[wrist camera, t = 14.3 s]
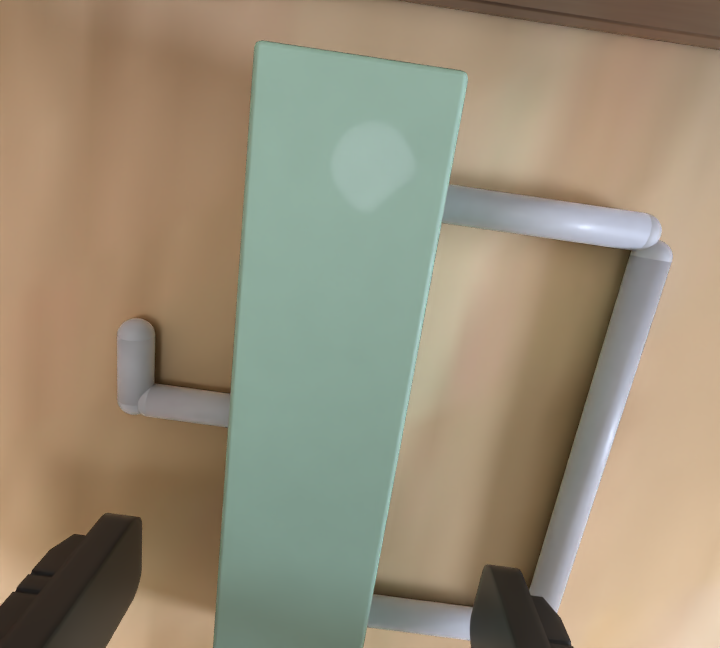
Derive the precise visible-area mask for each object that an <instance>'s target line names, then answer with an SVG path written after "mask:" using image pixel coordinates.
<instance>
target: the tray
mask: <svg viewBox="0 0 720 648" xmlns="http://www.w3.org/2000/svg"><path fill="white" fill-rule="evenodd" d="M400 1H407V2H413V3H419V4H426V5H432V6H439V7H445V8H452V9H458V10H465V11H471V12H478V13H484V14H491V15H497V16H504V17H510V18H517V19H523V20H530V21H536V22H543V23H549V24H556V25H562V26H569V27H575V28H582V29H588V30H595V31H601V32H608V33H614V34H621V35H627V36H634V37H640V38H647V39H653V40H660V41H666V42H673V43H679V44H686V45H692V46H699V47H705V48H712V49H718V50H720V0H400Z"/></svg>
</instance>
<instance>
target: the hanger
mask: <svg viewBox="0 0 720 648" xmlns="http://www.w3.org/2000/svg"><path fill="white" fill-rule="evenodd" d="M467 83H468V77H467V73H465V72H464V71H461V70H455V69H448V68H441V67H435V66H428V65H421V64H415V63H408V62H402V61H395V60H388V59H382V58H375V57H369V56H362V55H355V54H349V53H342V52H335V51H329V50H322V49H316V48H309V47H302V46H296V45H289V44H282V43H276V42H269V41H263V40H262V41H259V42H256V45H255V47H254V57H253V71H252V86H251V100H250V115H249V130H248V144H247V159H246V173H245V188H244V203H243V217H242V232H241V246H240V261H239V276H238V290H237V305H236V319H235V334H234V349H233V363H232V378H231V393H230V394H228V393H221V392H214V391H206V390H199V389H192V388H184V387H177V386H170V385H162V384H154V373H155V331H154V328H153V326H152V325H151V324H150V323H149V322H148V321H146V320H144V319H141V318H132V319H129V320H127V321H125V322H123V323H122V324H121V326H120V327H119V329H118V332H117V400H118V405H119V407H120V408H121V409H122V410H123V411H124V412H126V413H128V414H131V415H137V414H142V415H144V416H147V417H153V418H161V419H168V420H176V421H183V422H190V423H198V424H205V425H213V426H220V427H227V428H228V436H227V451H226V466H225V480H224V495H223V509H222V524H221V539H220V553H219V568H218V582H217V597H216V612H215V626H214V641H213V648H363V646H364V640H365V635H366V630H367V627H369V628H376V629H384V630H392V631H400V632H408V633H416V634H423V635H431V636H439V637H447V638H455V639H462V640H470V618H471V613H472V609H473V607H469V606H461V605H454V604H446V603H438V602H430V601H423V600H415V599H407V598H399V597H392V596H384V595H376V594H373V592H374V586H375V581H376V576H377V570H378V565H379V559H380V554H381V548H382V543H383V538H384V532H385V527H386V521H387V516H388V511H389V505H390V500H391V494H392V489H393V484H394V478H395V473H396V467H397V462H398V456H399V451H400V446H401V440H402V435H403V429H404V424H405V419H406V413H407V408H408V402H409V397H410V392H411V386H412V381H413V375H414V370H415V364H416V359H417V354H418V348H419V343H420V337H421V332H422V327H423V321H424V316H425V310H426V305H427V300H428V294H429V289H430V283H431V278H432V272H433V267H434V262H435V256H436V251H437V245H438V240H439V235H440V229H441V224H442V223H446V224H453V225H460V226H467V227H474V228H481V229H488V230H494V231H501V232H508V233H515V234H522V235H529V236H536V237H543V238H550V239H557V240H564V241H570V242H577V243H584V244H591V245H598V246H605V247H612V248H619V249H626V250H632V251H631V253H630V256H629V259H628V263H627V266H626V269H625V273H624V276H623V279H622V283H621V286H620V289H619V293H618V296H617V299H616V303H615V306H614V309H613V313H612V316H611V319H610V323H609V326H608V329H607V333H606V336H605V339H604V343H603V346H602V349H601V353H600V356H599V359H598V363H597V366H596V369H595V373H594V376H593V379H592V383H591V386H590V389H589V393H588V396H587V399H586V403H585V406H584V409H583V413H582V416H581V419H580V423H579V426H578V429H577V433H576V436H575V439H574V443H573V446H572V449H571V453H570V456H569V459H568V463H567V466H566V469H565V473H564V476H563V479H562V483H561V486H560V489H559V493H558V496H557V499H556V503H555V506H554V509H553V513H552V516H551V519H550V523H549V526H548V529H547V533H546V536H545V539H544V543H543V546H542V549H541V553H540V556H539V559H538V563H537V566H536V569H535V573H534V576H533V579H532V583H531V586H530V589H529V592H530V595H532V596H540V597H543V598H544V599H545V600H546V601H547V602H548V604H549V605H550V606H551V607H552V608H553V610H554V611H555V612H556V613H557V612H558V609H559V606H560V603H561V600H562V597H563V594H564V591H565V588H566V584H567V581H568V578H569V575H570V572H571V569H572V566H573V563H574V560H575V557H576V554H577V551H578V548H579V545H580V542H581V539H582V535H583V532H584V529H585V526H586V523H587V520H588V517H589V514H590V511H591V508H592V505H593V502H594V499H595V496H596V493H597V489H598V486H599V483H600V480H601V477H602V474H603V471H604V468H605V465H606V462H607V459H608V456H609V453H610V450H611V447H612V444H613V440H614V437H615V434H616V431H617V428H618V425H619V422H620V419H621V416H622V413H623V410H624V407H625V404H626V401H627V398H628V395H629V391H630V388H631V385H632V382H633V379H634V376H635V373H636V370H637V367H638V364H639V361H640V358H641V355H642V352H643V349H644V345H645V342H646V339H647V336H648V333H649V330H650V327H651V324H652V321H653V318H654V315H655V312H656V309H657V306H658V303H659V300H660V296H661V293H662V290H663V287H664V284H665V281H666V278H667V275H668V272H669V269H670V266H671V263H672V259H673V254H672V250H671V249H670V247H669V246H668V245H667V244H666V243H665V242H663V241H661V240H659V239H660V236H661V232H662V228H661V224H660V222H659V221H658V219H657V218H656V217H654V216H653V215H651V214H647V213H642V212H635V211H628V210H622V209H615V208H608V207H601V206H594V205H587V204H581V203H574V202H567V201H560V200H553V199H546V198H540V197H533V196H526V195H519V194H512V193H505V192H499V191H492V190H485V189H478V188H471V187H464V186H458V185H451V184H449V181H450V175H451V170H452V164H453V159H454V153H455V148H456V143H457V137H458V132H459V126H460V121H461V116H462V110H463V105H464V99H465V94H466V89H467Z"/></svg>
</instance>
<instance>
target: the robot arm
mask: <svg viewBox="0 0 720 648" xmlns="http://www.w3.org/2000/svg"><path fill="white" fill-rule="evenodd" d="M141 569H142V521H141V518H139V517H134V516H126V515H118V514H111V513H106V514H104V515H103V516H102V517H101V518H100V519H99V520H98V521H97V522H96V524H95V525H94V526H93V527H92V529H91V530H90V531H89V532H88V534H87V535H86V536H85V535H77V534H74V535H72V536H71V537H69V538H67V539H66V540H64V541H63V542H61V543H60V544H58V545H57V546H55V547H54V548H52V549H51V550H49V551H48V553H47V554H46V555H45V556H44V557H43V558H42V559H41V561H40V562H39V563H38V564H37V565H36V566H35V567H34V569H33V570H32V572H31V574H28V575H27V576H26V578H25V579H24V580H23V581H22V582H21V583H20V584H19V586H18V587H17V589H16V591H15V592H12V593H11V595H10V596H9V597H8V598H7V599H6V600H5V601H4V603H3V604H2V605H1V606H0V648H106V646H107V644H108V643H109V641H110V639H111V637H112V636H113V634H114V632H115V630H116V629H117V627H118V625H119V623H120V622H121V620H122V618H123V616H124V615H125V613H126V611H127V609H128V608H129V606H130V604H131V602H132V601H133V599H134V596H135V594H136V591H137V589H138V585H139V582H140V577H141ZM470 642H471V648H573V646H571V641H570V638H569V636H568V634H567V632H566V629H565V627H564V625H563V622H562V620H561V618H560V617H559V616H558V614H557V613H556V612H555V611H554V610H553V608H552V607H551V606H550V605H549V604H548V602H547V601H546V600H545V599H544V598H543V597H540V596H532V595H530V592H529V589H528V587H527V584H526V582H525V579H524V577H523V574H522V572H521V571H520V570H519V569H518V568H511V567H503V566H495V565H488V564H487V565H485V566H484V568H483V571H482V575H481V578H480V582H479V586H478V590H477V594H476V598H475V601H474V605H473V609H472V613H471V618H470Z"/></svg>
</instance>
